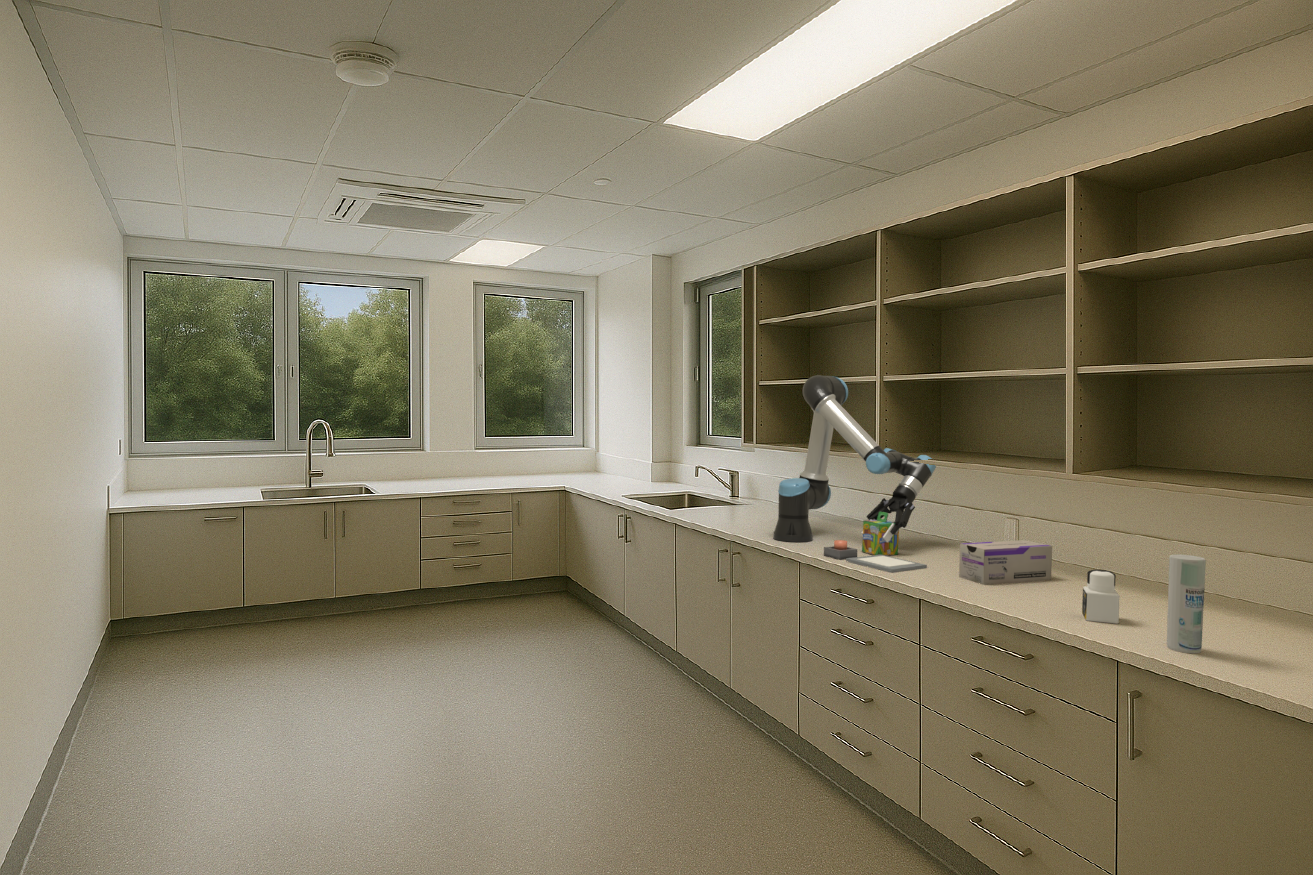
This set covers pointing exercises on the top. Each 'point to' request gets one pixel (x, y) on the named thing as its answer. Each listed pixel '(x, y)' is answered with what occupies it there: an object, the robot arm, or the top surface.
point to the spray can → (1185, 603)
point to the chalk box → (879, 537)
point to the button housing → (840, 553)
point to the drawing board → (886, 563)
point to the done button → (840, 544)
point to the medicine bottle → (1100, 597)
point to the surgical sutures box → (1005, 562)
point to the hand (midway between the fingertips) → (874, 537)
